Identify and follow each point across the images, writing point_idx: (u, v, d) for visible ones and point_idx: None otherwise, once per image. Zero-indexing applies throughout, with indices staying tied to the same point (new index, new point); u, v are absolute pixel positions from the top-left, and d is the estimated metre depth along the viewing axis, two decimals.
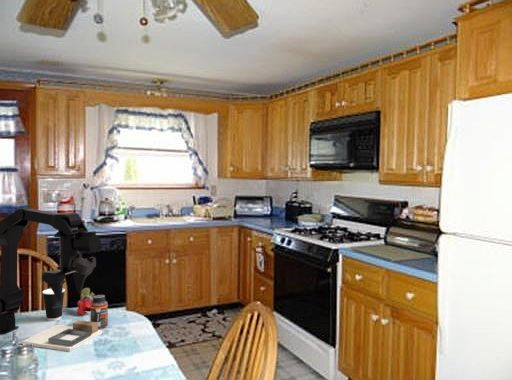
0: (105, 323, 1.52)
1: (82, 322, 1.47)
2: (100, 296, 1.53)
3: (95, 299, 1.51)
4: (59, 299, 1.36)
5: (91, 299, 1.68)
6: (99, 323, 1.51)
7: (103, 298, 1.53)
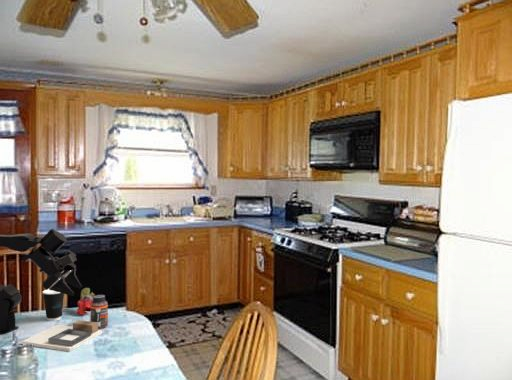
0: (105, 323, 1.52)
1: (82, 322, 1.47)
2: (100, 296, 1.53)
3: (95, 299, 1.51)
4: (72, 294, 1.47)
5: (91, 299, 1.68)
6: (99, 323, 1.51)
7: (103, 298, 1.53)
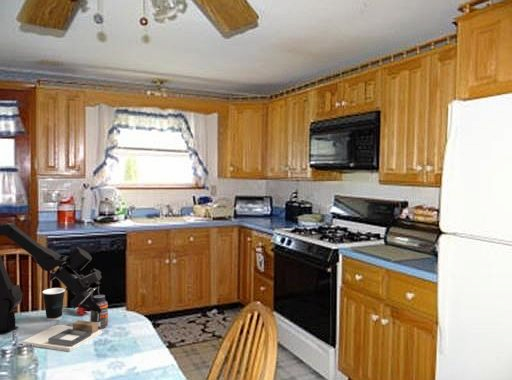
0: (105, 323, 1.52)
1: (82, 322, 1.47)
2: (100, 296, 1.53)
3: (95, 299, 1.51)
4: (100, 310, 1.50)
5: None
6: (99, 323, 1.51)
7: (103, 298, 1.53)
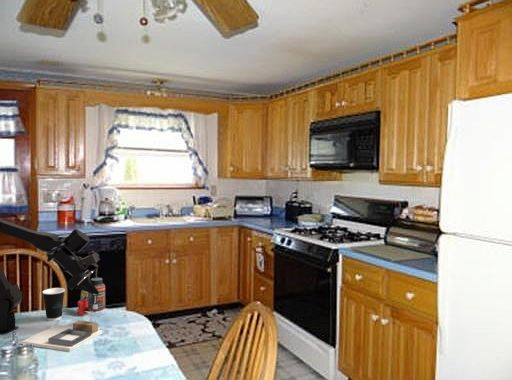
0: (102, 306, 1.51)
1: (82, 322, 1.47)
2: (97, 279, 1.52)
3: (92, 281, 1.50)
4: (97, 292, 1.49)
5: None
6: (96, 306, 1.50)
7: (100, 281, 1.51)
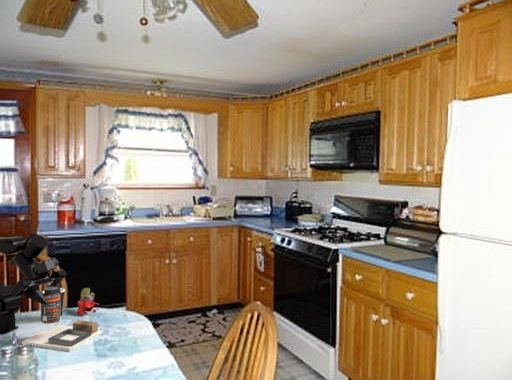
0: (53, 318, 1.39)
1: (82, 322, 1.47)
2: (51, 288, 1.41)
3: (44, 291, 1.40)
4: (45, 303, 1.38)
5: (91, 299, 1.68)
6: (45, 317, 1.39)
7: (52, 291, 1.40)
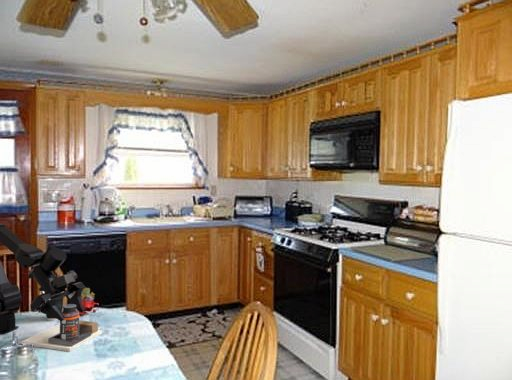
0: (72, 337, 1.37)
1: (82, 322, 1.47)
2: (70, 306, 1.38)
3: (63, 308, 1.37)
4: (61, 319, 1.34)
5: (91, 299, 1.68)
6: (64, 336, 1.36)
7: (71, 309, 1.37)
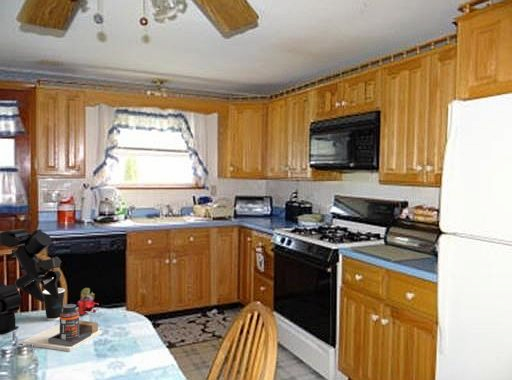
0: (72, 337, 1.37)
1: (82, 322, 1.47)
2: (69, 306, 1.38)
3: (63, 308, 1.37)
4: (42, 300, 1.38)
5: (91, 299, 1.68)
6: (64, 336, 1.36)
7: (71, 309, 1.37)
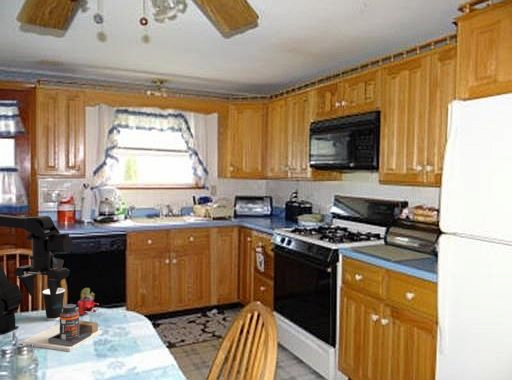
0: (72, 337, 1.37)
1: (82, 322, 1.47)
2: (69, 306, 1.38)
3: (63, 309, 1.37)
4: (54, 296, 1.45)
5: (91, 299, 1.68)
6: (64, 336, 1.36)
7: (71, 309, 1.37)
